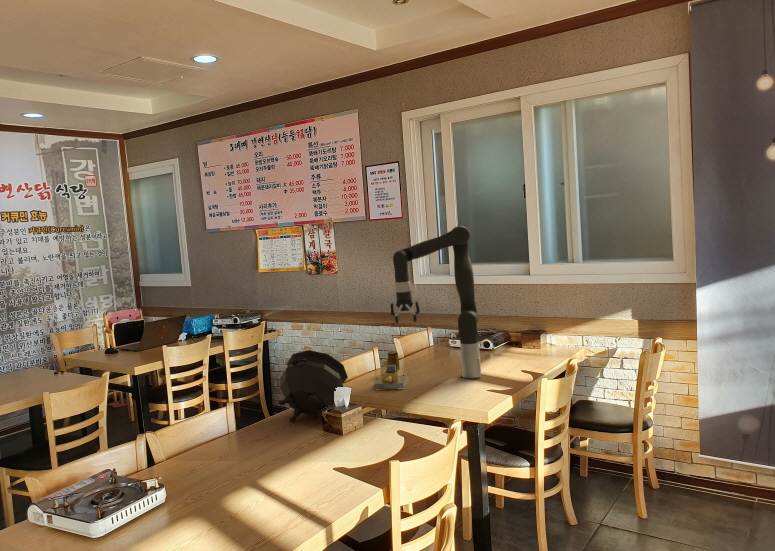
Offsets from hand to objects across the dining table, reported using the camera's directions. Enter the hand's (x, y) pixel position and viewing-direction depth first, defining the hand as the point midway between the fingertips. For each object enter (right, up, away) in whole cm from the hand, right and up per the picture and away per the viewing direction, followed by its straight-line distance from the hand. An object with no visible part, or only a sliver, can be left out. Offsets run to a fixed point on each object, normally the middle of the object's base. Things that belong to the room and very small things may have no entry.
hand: (406, 322), depth 292 cm
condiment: (-5, -29, +14) cm, 33 cm away
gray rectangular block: (-7, -30, -5) cm, 31 cm away
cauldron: (-40, -36, -45) cm, 70 cm away
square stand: (-7, -30, -5) cm, 32 cm away
